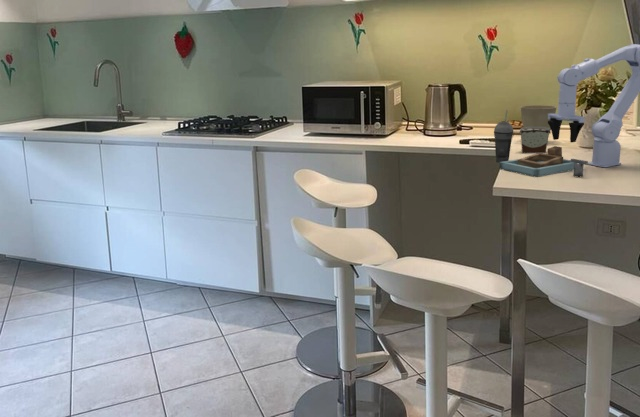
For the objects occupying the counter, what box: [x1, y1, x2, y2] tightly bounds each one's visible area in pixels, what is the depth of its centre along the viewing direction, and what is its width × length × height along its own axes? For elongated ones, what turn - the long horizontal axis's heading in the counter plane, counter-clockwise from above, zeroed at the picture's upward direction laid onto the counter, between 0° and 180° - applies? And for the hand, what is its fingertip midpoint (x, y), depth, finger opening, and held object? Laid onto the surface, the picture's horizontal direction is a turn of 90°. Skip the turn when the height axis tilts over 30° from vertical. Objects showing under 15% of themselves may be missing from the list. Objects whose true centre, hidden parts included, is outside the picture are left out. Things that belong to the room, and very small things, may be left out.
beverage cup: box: [493, 109, 514, 164], centre depth 240 cm, size 7×7×20 cm
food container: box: [519, 127, 552, 154], centre depth 260 cm, size 12×6×10 cm, turn 85°
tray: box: [499, 158, 574, 178], centre depth 228 cm, size 22×17×2 cm
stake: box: [570, 158, 589, 178], centre depth 215 cm, size 3×6×6 cm, turn 30°
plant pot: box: [520, 104, 558, 132], centre depth 279 cm, size 15×15×16 cm
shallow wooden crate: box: [518, 145, 564, 168], centre depth 229 cm, size 15×11×4 cm
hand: (564, 140), depth 229 cm, fingers open, 7 cm apart
